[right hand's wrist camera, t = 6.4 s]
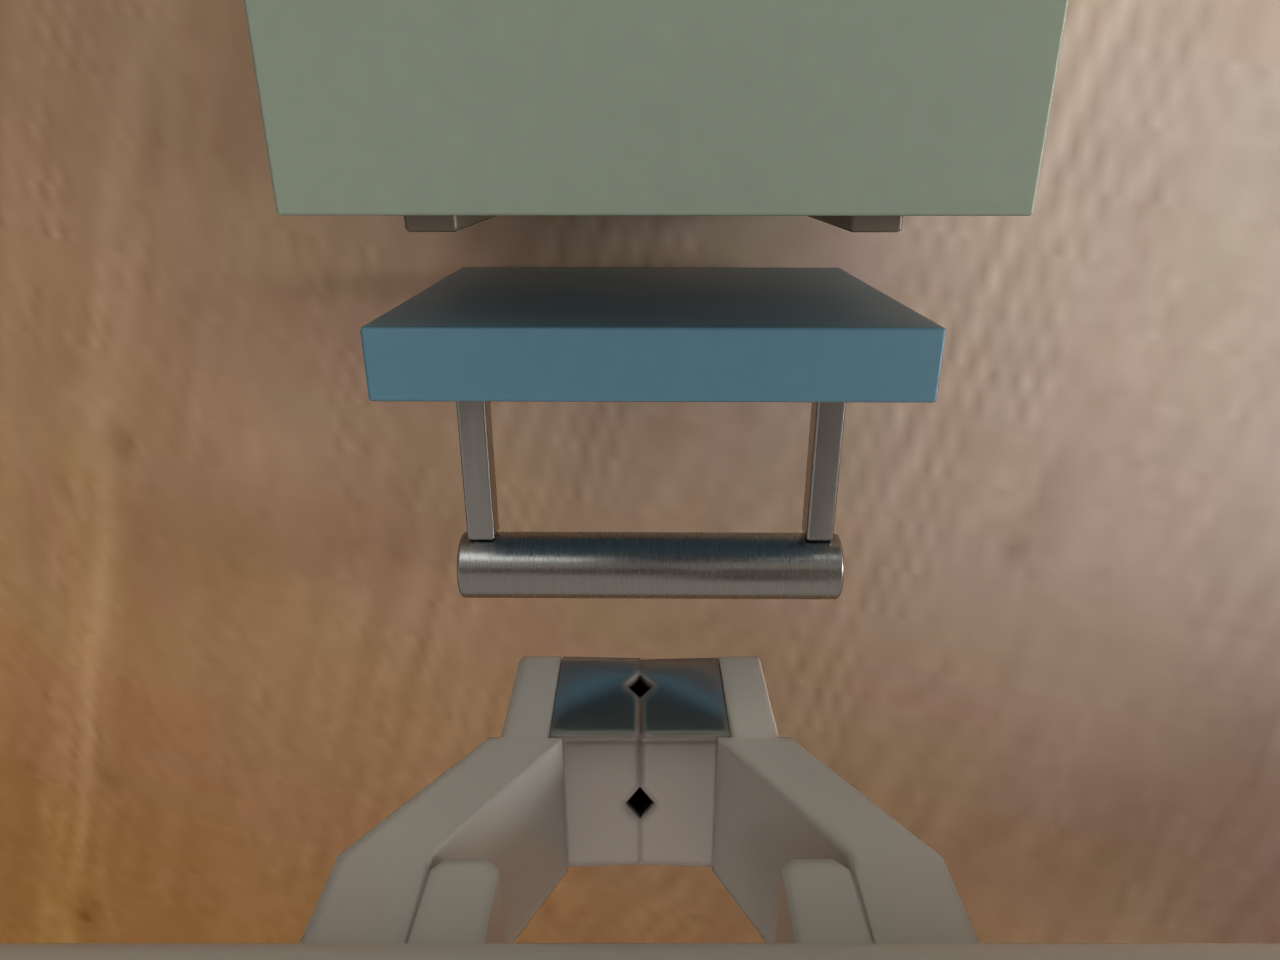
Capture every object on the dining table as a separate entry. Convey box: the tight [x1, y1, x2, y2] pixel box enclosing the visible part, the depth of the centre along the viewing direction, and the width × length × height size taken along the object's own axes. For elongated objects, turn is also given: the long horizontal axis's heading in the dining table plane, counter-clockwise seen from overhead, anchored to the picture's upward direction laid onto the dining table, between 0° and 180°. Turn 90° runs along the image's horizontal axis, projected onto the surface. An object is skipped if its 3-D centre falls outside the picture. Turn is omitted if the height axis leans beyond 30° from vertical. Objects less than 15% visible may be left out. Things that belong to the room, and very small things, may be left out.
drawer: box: [360, 215, 946, 599], centre depth 15 cm, size 21×9×8 cm, turn 0°
